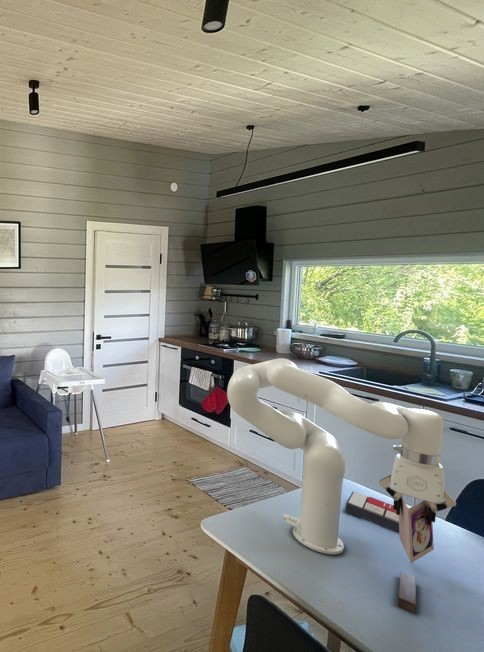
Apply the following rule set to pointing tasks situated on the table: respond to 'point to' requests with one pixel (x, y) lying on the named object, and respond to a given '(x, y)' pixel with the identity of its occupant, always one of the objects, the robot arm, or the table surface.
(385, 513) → the calculator
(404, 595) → the walnut bar
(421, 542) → the greeting card
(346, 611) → the table surface
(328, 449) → the robot arm
